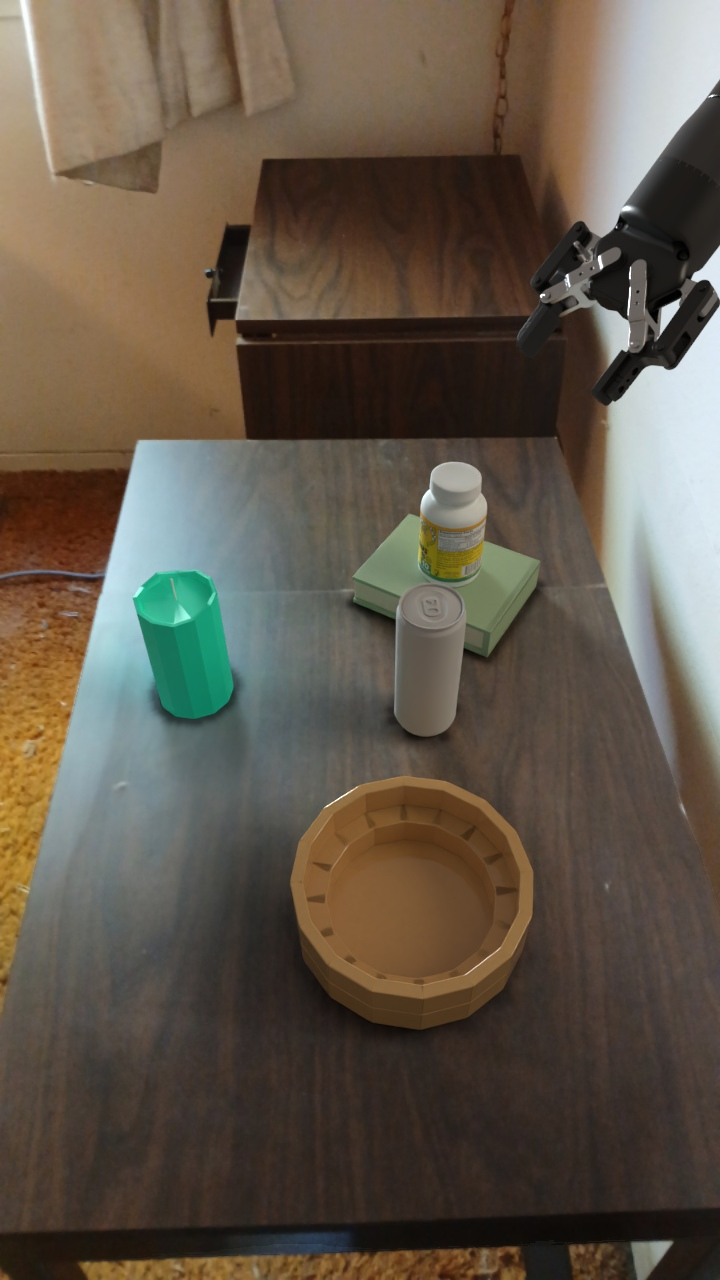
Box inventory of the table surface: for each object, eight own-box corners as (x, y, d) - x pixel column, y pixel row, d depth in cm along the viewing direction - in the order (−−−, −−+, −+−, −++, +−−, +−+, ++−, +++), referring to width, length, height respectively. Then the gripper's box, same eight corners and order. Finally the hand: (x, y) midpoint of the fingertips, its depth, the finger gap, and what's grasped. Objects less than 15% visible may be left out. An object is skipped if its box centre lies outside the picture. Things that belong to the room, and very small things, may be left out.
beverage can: (451, 690, 71) (462, 579, 62) (460, 738, 67) (472, 628, 59) (391, 694, 71) (393, 583, 62) (396, 742, 67) (399, 632, 59)
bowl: (558, 879, 59) (570, 840, 56) (459, 1079, 51) (465, 1048, 47) (370, 785, 65) (370, 744, 61) (252, 952, 56) (243, 915, 52)
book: (536, 586, 79) (540, 561, 77) (487, 657, 73) (490, 632, 71) (408, 538, 84) (409, 513, 82) (352, 602, 78) (352, 576, 76)
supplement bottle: (480, 591, 74) (491, 499, 67) (416, 588, 75) (420, 495, 68) (480, 549, 78) (490, 457, 71) (418, 546, 78) (423, 454, 71)
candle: (247, 675, 72) (230, 564, 63) (208, 729, 68) (184, 619, 60) (184, 653, 74) (159, 542, 65) (143, 704, 70) (110, 593, 61)
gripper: (610, 129, 66) (477, 317, 70) (767, 187, 58) (607, 396, 62) (645, 188, 72) (520, 359, 76) (791, 248, 64) (644, 436, 68)
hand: (559, 375), depth 69 cm, fingers open, 8 cm apart
